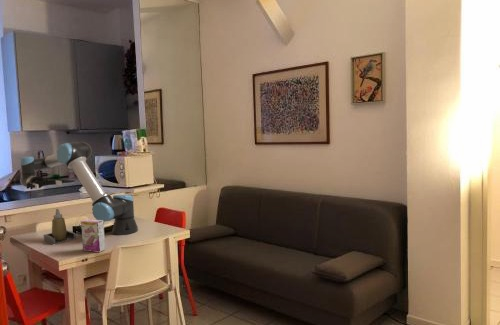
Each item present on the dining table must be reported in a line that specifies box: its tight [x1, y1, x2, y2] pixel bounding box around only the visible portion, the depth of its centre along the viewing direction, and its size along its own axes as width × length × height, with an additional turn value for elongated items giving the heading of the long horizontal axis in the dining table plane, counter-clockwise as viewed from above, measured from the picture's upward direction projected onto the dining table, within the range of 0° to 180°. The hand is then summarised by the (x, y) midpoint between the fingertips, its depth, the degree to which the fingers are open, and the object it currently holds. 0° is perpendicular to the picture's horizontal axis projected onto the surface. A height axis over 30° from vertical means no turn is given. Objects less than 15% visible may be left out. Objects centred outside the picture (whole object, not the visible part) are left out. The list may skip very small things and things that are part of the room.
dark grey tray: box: [43, 230, 77, 245], centre depth 248 cm, size 13×13×4 cm
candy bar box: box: [80, 219, 106, 252], centre depth 225 cm, size 11×5×16 cm, turn 71°
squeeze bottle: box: [51, 208, 68, 240], centre depth 247 cm, size 8×8×18 cm
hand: (49, 185), depth 251 cm, fingers open, 13 cm apart
